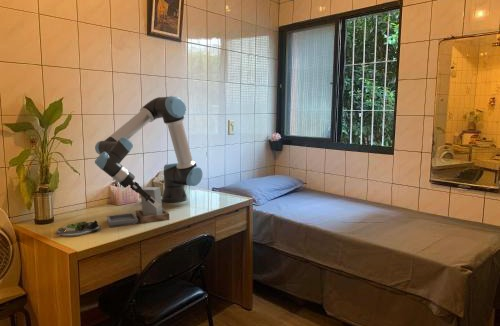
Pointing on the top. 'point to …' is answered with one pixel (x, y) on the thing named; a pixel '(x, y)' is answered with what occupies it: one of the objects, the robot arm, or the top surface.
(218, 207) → the top surface
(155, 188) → the skincare box
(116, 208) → the top surface
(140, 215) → the square wooden tray
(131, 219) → the tray
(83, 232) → the salad plate
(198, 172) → the robot arm
